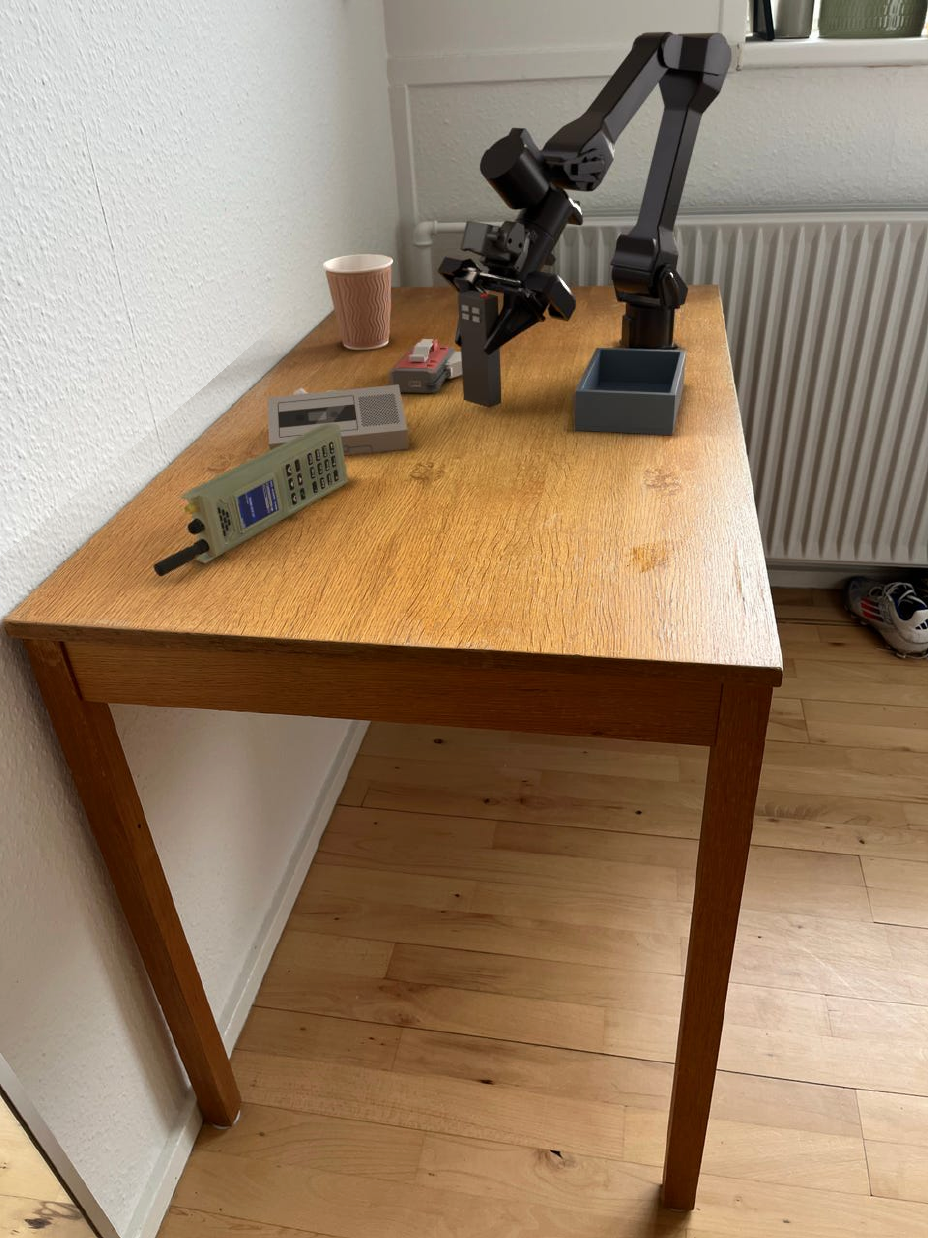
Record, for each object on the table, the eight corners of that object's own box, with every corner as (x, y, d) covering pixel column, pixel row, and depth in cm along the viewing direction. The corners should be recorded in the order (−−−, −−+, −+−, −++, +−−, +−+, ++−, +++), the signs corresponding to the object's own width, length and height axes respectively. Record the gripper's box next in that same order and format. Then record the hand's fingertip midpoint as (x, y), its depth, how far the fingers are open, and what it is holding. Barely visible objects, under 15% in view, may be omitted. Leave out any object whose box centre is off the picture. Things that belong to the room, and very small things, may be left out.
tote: (595, 383, 126) (596, 347, 123) (683, 387, 123) (686, 350, 120) (574, 430, 112) (574, 390, 110) (672, 435, 110) (675, 395, 107)
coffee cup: (412, 338, 147) (406, 256, 141) (372, 357, 140) (363, 272, 133) (360, 330, 152) (351, 251, 145) (318, 348, 145) (307, 266, 138)
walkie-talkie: (450, 397, 124) (482, 350, 140) (448, 364, 121) (480, 320, 138) (385, 396, 126) (424, 349, 142) (382, 363, 123) (422, 319, 140)
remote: (476, 395, 121) (471, 288, 114) (501, 403, 118) (498, 294, 111) (462, 400, 119) (456, 292, 112) (487, 408, 116) (483, 298, 109)
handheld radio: (353, 484, 103) (173, 587, 86) (331, 479, 104) (149, 579, 88) (344, 425, 99) (154, 520, 82) (321, 421, 101) (130, 513, 84)
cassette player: (268, 443, 107) (267, 392, 113) (272, 462, 109) (270, 411, 115) (407, 429, 108) (397, 379, 115) (408, 448, 110) (399, 398, 117)
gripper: (443, 183, 114) (381, 298, 114) (559, 197, 102) (489, 325, 102) (493, 241, 122) (435, 347, 122) (605, 260, 111) (541, 377, 111)
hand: (471, 348), depth 114 cm, fingers closed on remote, 4 cm apart
